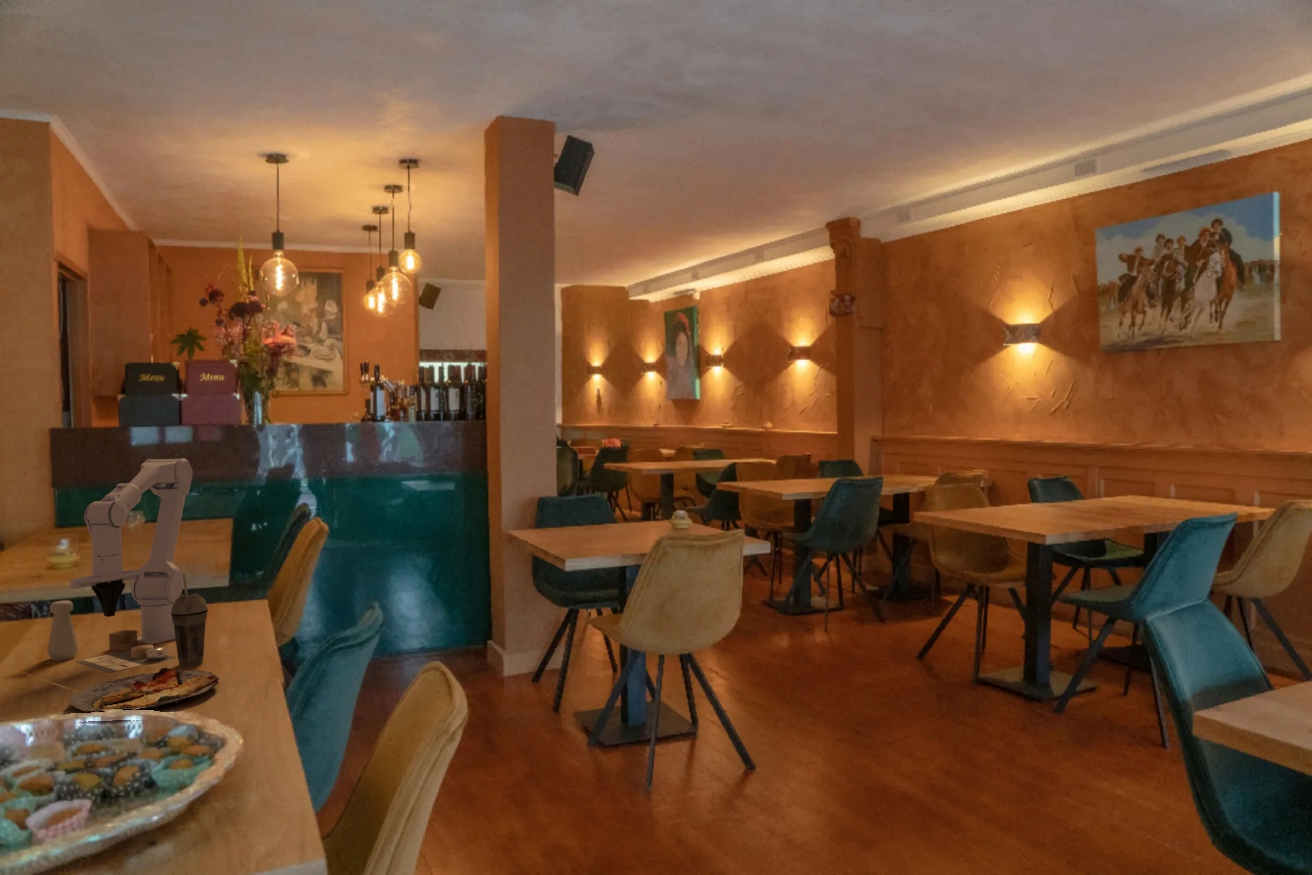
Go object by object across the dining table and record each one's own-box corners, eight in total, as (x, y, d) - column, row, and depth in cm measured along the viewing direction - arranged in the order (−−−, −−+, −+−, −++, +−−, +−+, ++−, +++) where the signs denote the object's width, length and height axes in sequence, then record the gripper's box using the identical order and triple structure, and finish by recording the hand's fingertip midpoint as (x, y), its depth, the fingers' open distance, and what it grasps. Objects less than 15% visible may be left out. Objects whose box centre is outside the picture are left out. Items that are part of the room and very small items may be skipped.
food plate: (187, 672, 192) (186, 655, 192) (241, 693, 178) (240, 675, 178) (51, 706, 173) (50, 687, 173) (99, 733, 158) (97, 713, 158)
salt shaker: (63, 663, 202) (61, 604, 201) (41, 662, 203) (39, 603, 203) (84, 656, 207) (82, 599, 207) (63, 655, 209) (61, 598, 208)
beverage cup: (217, 661, 201) (214, 570, 200) (190, 670, 194) (187, 576, 193) (191, 659, 203) (188, 569, 203) (164, 668, 196) (161, 575, 196)
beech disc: (147, 652, 209) (147, 643, 209) (157, 655, 206) (157, 646, 206) (127, 656, 205) (127, 647, 205) (137, 659, 203) (136, 650, 203)
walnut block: (123, 646, 216) (123, 629, 216) (137, 647, 215) (137, 630, 215) (109, 650, 212) (109, 633, 212) (123, 651, 211) (123, 634, 211)
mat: (141, 649, 213) (141, 647, 213) (176, 658, 204) (176, 656, 204) (75, 663, 202) (75, 661, 202) (109, 673, 192) (109, 671, 192)
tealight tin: (159, 655, 206) (159, 646, 206) (171, 656, 204) (170, 647, 204) (142, 660, 202) (142, 650, 202) (154, 661, 200) (154, 651, 200)
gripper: (79, 561, 195) (81, 624, 196) (149, 551, 207) (151, 611, 207) (65, 558, 199) (67, 620, 200) (134, 549, 211) (136, 608, 212)
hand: (109, 615), depth 204 cm, fingers closed
